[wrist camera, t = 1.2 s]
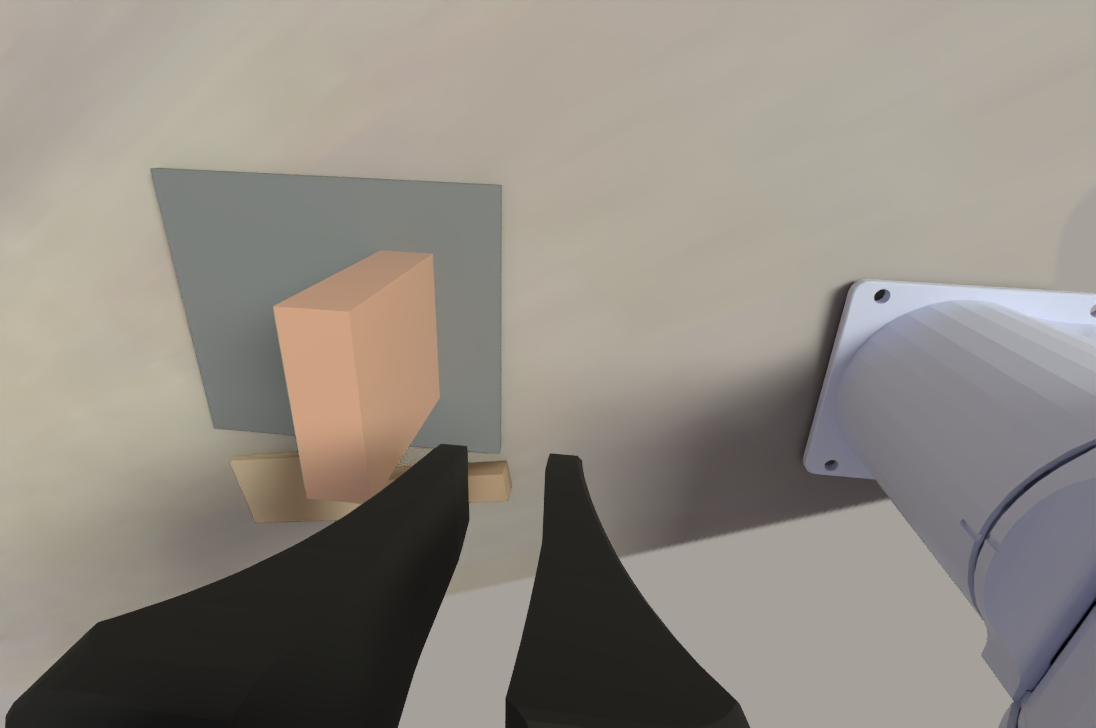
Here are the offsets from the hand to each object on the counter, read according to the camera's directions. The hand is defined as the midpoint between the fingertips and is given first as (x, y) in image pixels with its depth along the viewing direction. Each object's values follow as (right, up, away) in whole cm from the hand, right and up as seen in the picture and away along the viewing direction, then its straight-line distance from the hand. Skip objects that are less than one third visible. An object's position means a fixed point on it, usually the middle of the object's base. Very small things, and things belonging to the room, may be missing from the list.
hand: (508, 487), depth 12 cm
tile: (-4, +4, +9) cm, 11 cm away
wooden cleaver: (-8, -3, +13) cm, 15 cm away
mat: (-7, +5, +10) cm, 13 cm away
